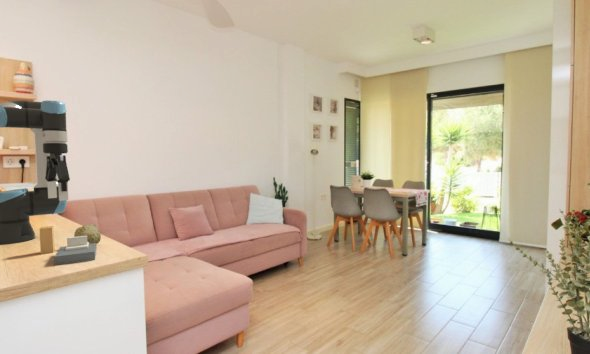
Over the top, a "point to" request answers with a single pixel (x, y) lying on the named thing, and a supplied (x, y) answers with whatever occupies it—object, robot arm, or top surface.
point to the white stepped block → (77, 243)
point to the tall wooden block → (47, 239)
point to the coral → (89, 233)
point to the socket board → (75, 254)
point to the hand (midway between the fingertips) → (58, 199)
